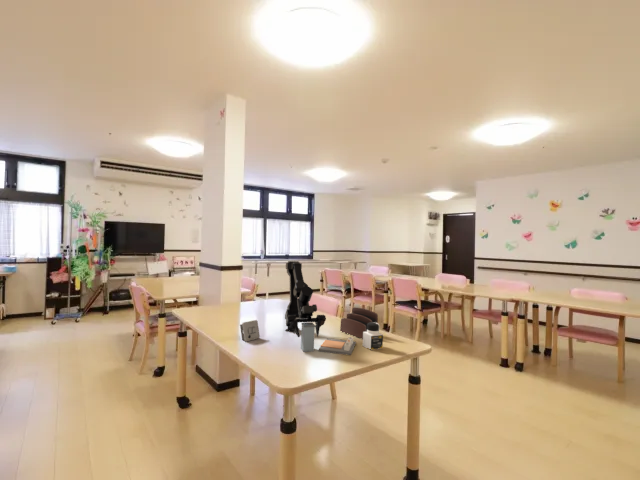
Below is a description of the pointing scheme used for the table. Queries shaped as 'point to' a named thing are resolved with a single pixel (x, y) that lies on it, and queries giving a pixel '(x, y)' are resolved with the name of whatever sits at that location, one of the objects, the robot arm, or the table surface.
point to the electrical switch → (250, 330)
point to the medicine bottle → (372, 336)
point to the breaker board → (338, 346)
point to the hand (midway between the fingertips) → (308, 336)
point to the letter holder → (358, 321)
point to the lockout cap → (307, 337)
